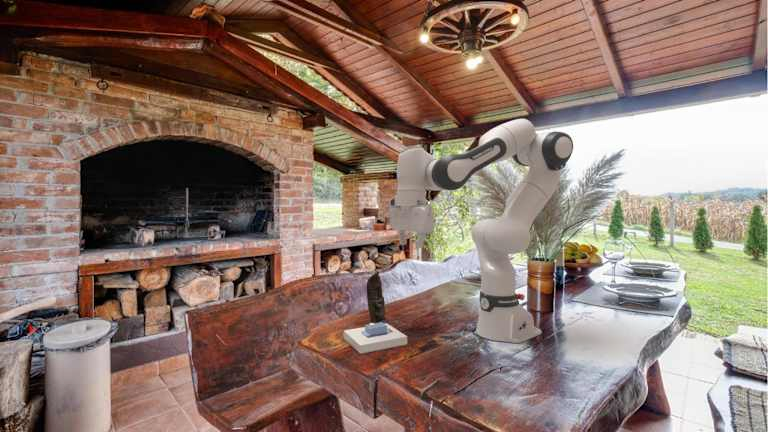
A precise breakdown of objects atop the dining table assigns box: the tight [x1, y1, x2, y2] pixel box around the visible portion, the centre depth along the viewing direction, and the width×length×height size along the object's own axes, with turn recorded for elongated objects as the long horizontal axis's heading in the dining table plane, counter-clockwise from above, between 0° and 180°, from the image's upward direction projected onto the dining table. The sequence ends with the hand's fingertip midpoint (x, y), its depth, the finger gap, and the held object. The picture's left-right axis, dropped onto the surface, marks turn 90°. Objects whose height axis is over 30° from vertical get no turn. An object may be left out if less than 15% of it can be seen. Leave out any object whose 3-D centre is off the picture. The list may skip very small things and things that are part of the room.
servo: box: [362, 322, 391, 338], centre depth 114 cm, size 8×4×6 cm, turn 117°
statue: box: [366, 270, 389, 324], centre depth 130 cm, size 7×7×20 cm
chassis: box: [343, 323, 408, 355], centre depth 114 cm, size 16×14×3 cm
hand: (410, 246), depth 109 cm, fingers open, 8 cm apart
